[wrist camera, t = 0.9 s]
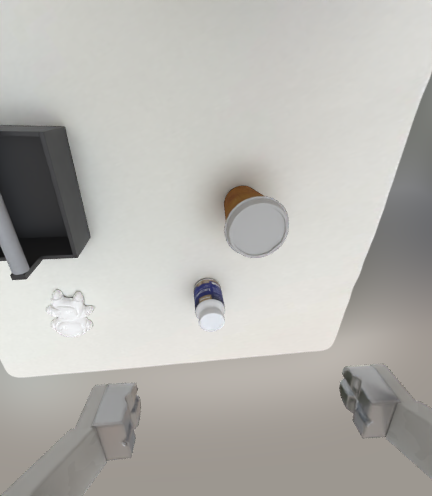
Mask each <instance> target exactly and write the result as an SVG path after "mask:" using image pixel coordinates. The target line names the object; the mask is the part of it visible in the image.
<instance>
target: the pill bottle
mask: <svg viewBox="0 0 432 496" xmlns="http://www.w3.org/2000/svg"><path fill="white" fill-rule="evenodd" d="M194 300H195V313H196V316H197V318H198V319H199V325H200V327H201V328H202V329H203V330H205V331H217V330H219V329H220V328H222V327H223V325H224V323H225V319H224V313H225V306H224V302H223V297H222V292H221V287H220V285H219V283H218V282H217V281H215V280H213V279H203V280H200V281H199V282H198V283H197V284H196V285H195V287H194Z"/></svg>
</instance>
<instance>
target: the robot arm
mask: <svg viewBox="0 0 432 496" xmlns="http://www.w3.org/2000/svg"><path fill="white" fill-rule="evenodd" d="M342 374H343V376H344V379H343V380H342V381H341V382H340V388H339V389H340V395H341V398H342V401H343V403H344V405H345V407H346V408H347V409H348V410H349V411H350V412H352V413H353V422H354V424H355V426H356V427H357V429H358V431H359V433H360V435H361V436H362V438H377V437H386V439H387V440H388V441H389V442H390V443H391V444H392V445H394V446H395V447H396V448H397V449H398V450H399V451H400V452H402V453H403V454H404V455H405V456H406V457H407V458H408V459H409V460H411V461H412V462H413V463H414V464H415V465H416V466H417V467H418V468H420V469H421V470H422V471H423V472H424V473H425V474H426V475H427V476H429V477H430V478H431V479H432V408H431V407H429V406H427V405H426V404H424V403H423V402H421V401H416V400H415V399H414V398H413V397H412V396H411V395H410V393H409V392H408V391H407V390H406V388H405V387H404V386H403V385H402V384H401V382H400V381H399V380H398V379H397V378H396V376H395V375H394V374H393V373H392V372H391V370H390V369H389V368H388V367H387V366H386V365H384V364H372V365H358V366H346V367H344V369H343V372H342ZM137 390H138V388H137V384H136V383H118V384H101V385H95V386H94V387H93V388H92V390H91V393H90V395H89V397H88V399H87V402H86V404H85V407H84V409H83V411H82V413H81V416H80V418H79V420H78V423H77V425H76V427H75V429H70V430H69V431H68V432H67V433H66V434H65V435H64V436H63V437H62V438H61V439H60V440H59V441H57V442H56V443H55V444H54V445H53V446H52V447H51V448H50V449H49V450H48V451H47V452H46V453H45V454H44V455H43V456H42V457H41V458H40V459H39V460H37V461H36V462H35V463H34V464H33V465H32V466H31V467H30V468H29V469H28V470H27V471H26V472H25V473H24V474H23V475H22V476H21V477H20V478H18V479H17V480H16V481H15V482H14V483H13V484H12V485H11V486H10V487H9V488H8V489H7V490H6V491H5V492H4V493H3V494H2V495H1V496H83V495H84V493H85V492H86V491H87V489H88V488H89V487H90V485H91V484H92V482H93V481H94V479H95V478H96V477H97V475H98V474H99V473H100V471H101V470H102V468H103V467H104V466H105V464H106V463H107V461H109V460H117V459H126V458H131V457H132V453H133V448H134V444H135V439H136V437H135V432H134V429H136V427H137V426H138V425H139V420H140V413H141V402H140V397H139V396H137Z"/></svg>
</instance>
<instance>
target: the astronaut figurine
mask: <svg viewBox="0 0 432 496" xmlns="http://www.w3.org/2000/svg"><path fill="white" fill-rule="evenodd" d="M51 304H52V305H50V306H48V307H47V308H46V312H47V313H48V314H51V316H54V317H57V318H56V319H54V320H53V321H52V323H51V327H52V328H53V329H55V330H56V331H57V332H58V333H59V334H61V335H63V336H66V337H78V336H81V335H83V334H84V333H85V332H86V331H87V330H90V329H91V328H92V326H93V323H92V321H90V320H88V319H87V316H89V315H90V314H91V313H92V311H93V310H94V307H93V306H85V305H84V299H83V295H82V294H81V292H76V293H75V294H74V296H73V298H66V297H64V296H63V294H62V292H61V291H60V290H55V291H54V293H53V295H52V298H51Z"/></svg>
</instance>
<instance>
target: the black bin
mask: <svg viewBox="0 0 432 496" xmlns="http://www.w3.org/2000/svg"><path fill="white" fill-rule="evenodd" d="M89 239H90V233H89V229H88V225H87V220H86V216H85V212H84V207H83V203H82V199H81V195H80V190H79V186H78V182H77V177H76V173H75V169H74V165H73V160H72V156H71V152H70V147H69V143H68V139H67V135H66V130H65V127H64V126H12V125H0V261H7V262H8V264H9V267H10V269H11V271H12V274H11V275H10V276H11V278H12V280H22V279H27V278H28V277H29V276H30V274H31V273H32V272H33V271H34V270H35V268H36V267H37V266H38V265H39V264H40V262H41V261H42V259H61V258H78V257H79V255H80V253H81V252H82V250H83V249H84V247H85V245H86V244H87V242H88V240H89Z"/></svg>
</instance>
